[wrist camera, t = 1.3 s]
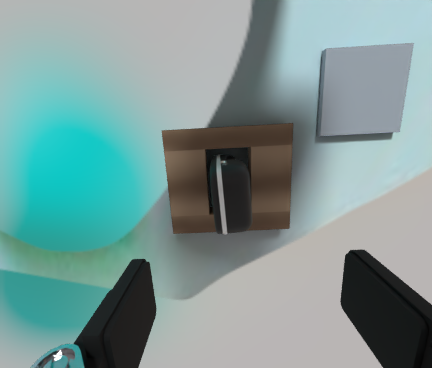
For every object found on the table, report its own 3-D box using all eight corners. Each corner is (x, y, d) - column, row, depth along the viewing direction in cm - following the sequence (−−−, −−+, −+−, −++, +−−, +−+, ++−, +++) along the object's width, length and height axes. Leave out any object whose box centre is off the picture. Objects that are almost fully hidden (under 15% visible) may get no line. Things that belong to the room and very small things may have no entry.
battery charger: (243, 199, 31) (257, 239, 20) (217, 201, 31) (216, 242, 20) (239, 150, 29) (252, 165, 18) (211, 153, 29) (208, 169, 18)
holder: (167, 130, 29) (161, 130, 26) (285, 123, 28) (293, 123, 25) (177, 224, 32) (173, 233, 29) (282, 219, 32) (289, 228, 29)
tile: (322, 51, 26) (326, 48, 25) (406, 46, 26) (413, 42, 25) (316, 135, 29) (320, 136, 28) (393, 131, 28) (399, 131, 27)
